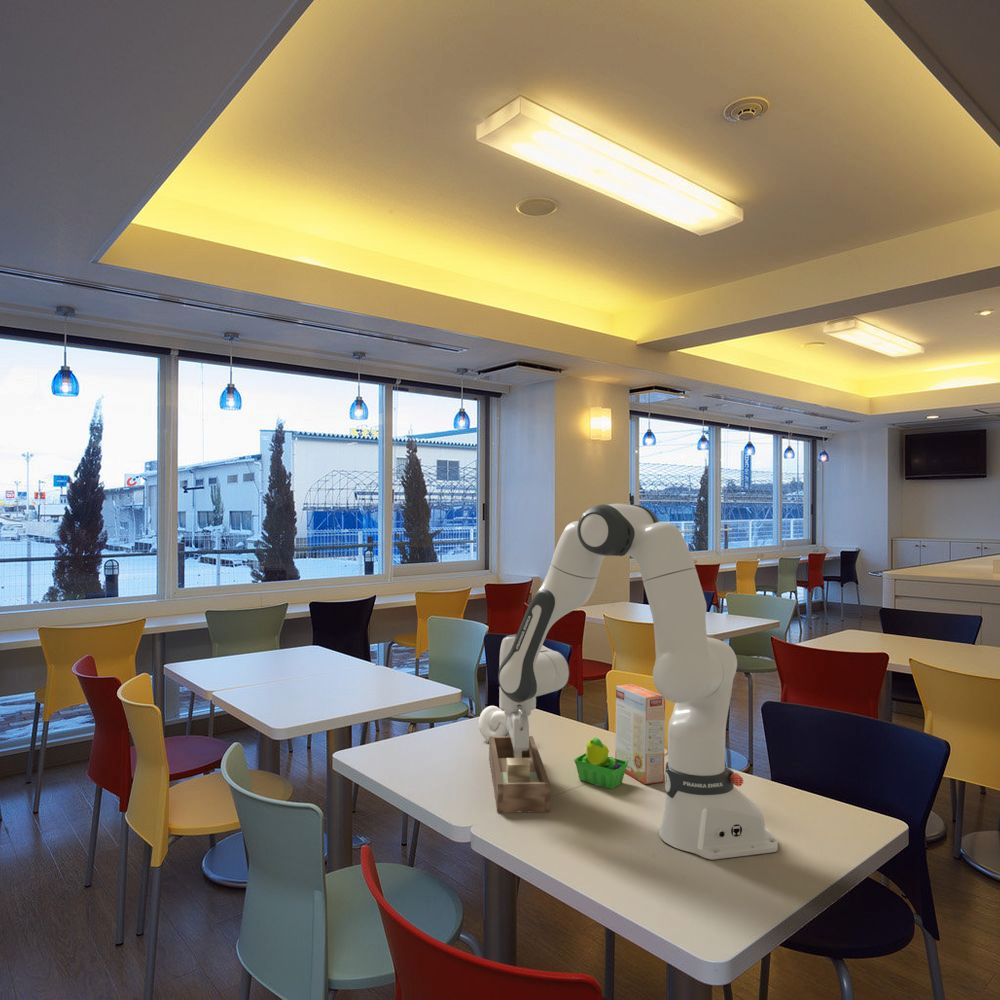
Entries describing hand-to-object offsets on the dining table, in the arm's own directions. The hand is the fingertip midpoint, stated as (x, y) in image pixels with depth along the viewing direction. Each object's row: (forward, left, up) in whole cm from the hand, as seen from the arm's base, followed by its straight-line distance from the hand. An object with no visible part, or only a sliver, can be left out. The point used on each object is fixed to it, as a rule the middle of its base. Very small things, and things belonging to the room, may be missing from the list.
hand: (517, 758), depth 176 cm
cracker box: (-31, -3, -6) cm, 31 cm away
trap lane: (0, +2, -5) cm, 6 cm away
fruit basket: (-20, +2, -6) cm, 21 cm away
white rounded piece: (+1, -33, -6) cm, 34 cm away
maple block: (+1, +7, -2) cm, 8 cm away
